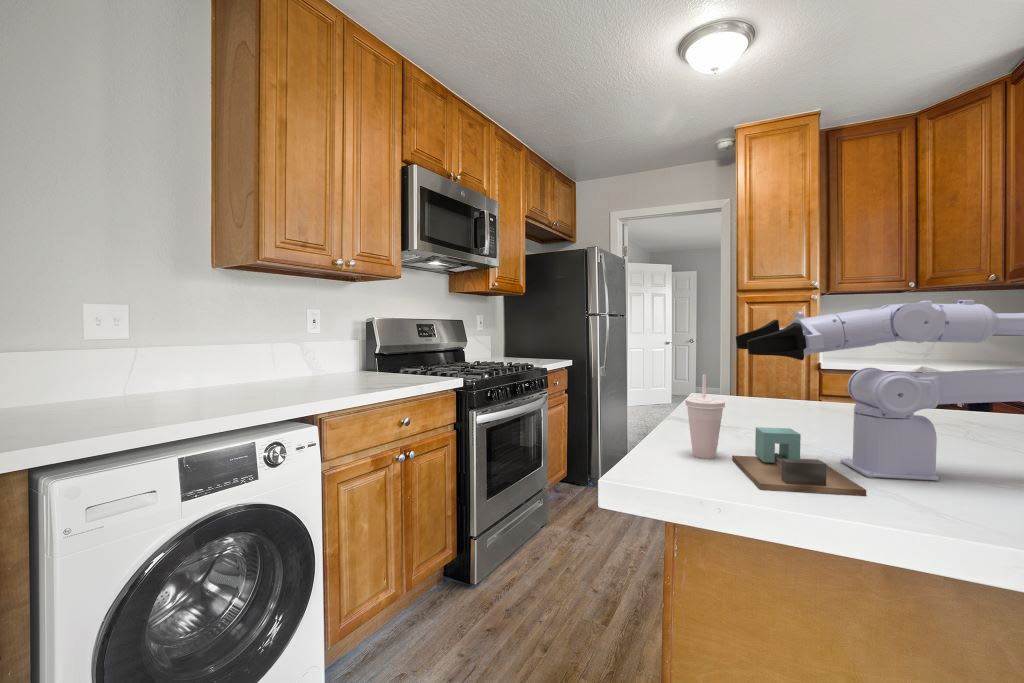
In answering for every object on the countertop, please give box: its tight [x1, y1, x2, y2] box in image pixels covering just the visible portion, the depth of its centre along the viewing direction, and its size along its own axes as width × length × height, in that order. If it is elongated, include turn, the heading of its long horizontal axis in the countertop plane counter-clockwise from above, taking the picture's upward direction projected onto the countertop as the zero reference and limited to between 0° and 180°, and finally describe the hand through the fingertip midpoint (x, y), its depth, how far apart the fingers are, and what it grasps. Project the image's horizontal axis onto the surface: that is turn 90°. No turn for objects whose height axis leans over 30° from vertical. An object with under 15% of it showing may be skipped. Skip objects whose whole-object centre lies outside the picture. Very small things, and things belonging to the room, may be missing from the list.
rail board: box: [731, 452, 867, 497], centre depth 70 cm, size 13×14×4 cm
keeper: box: [754, 426, 802, 463], centre depth 74 cm, size 5×4×5 cm
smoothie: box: [684, 374, 726, 460], centre depth 80 cm, size 6×6×14 cm
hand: (742, 344), depth 76 cm, fingers open, 7 cm apart
